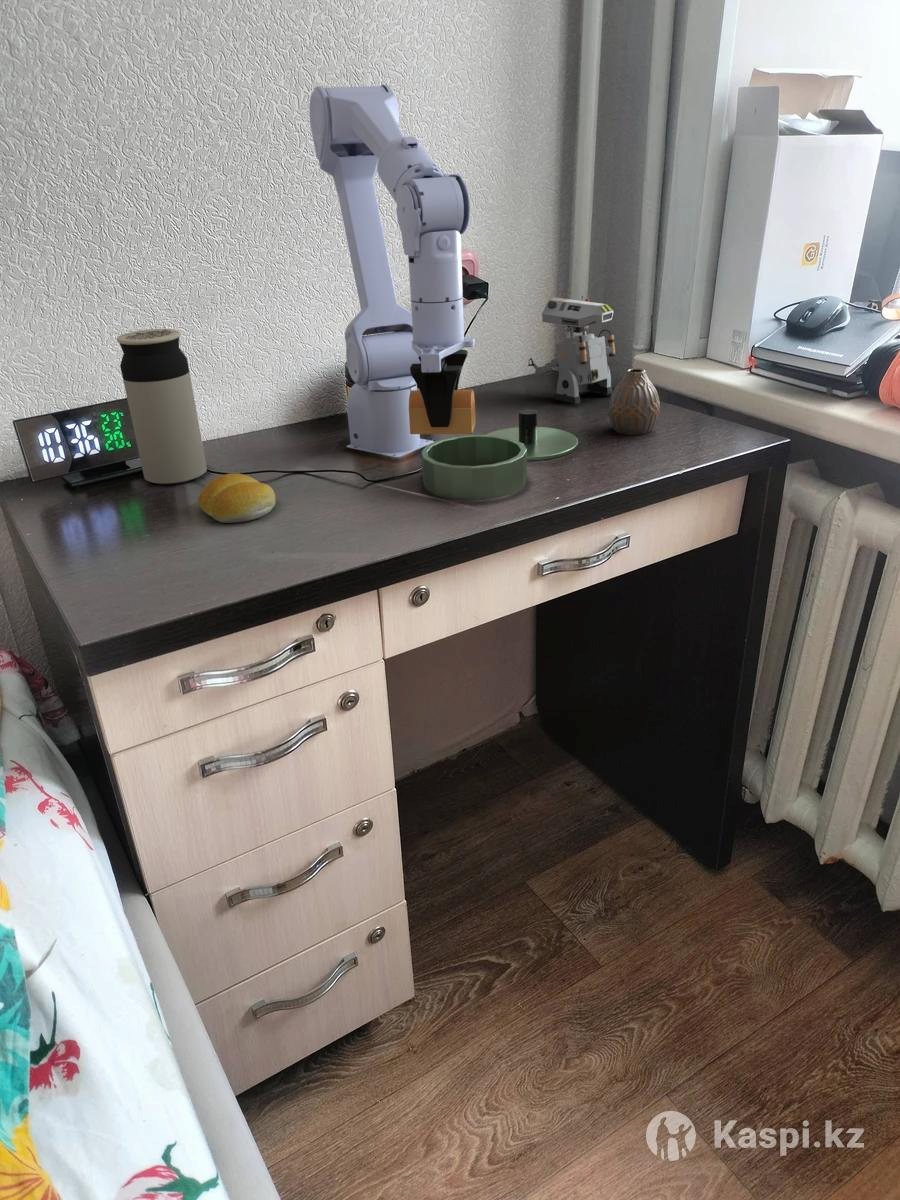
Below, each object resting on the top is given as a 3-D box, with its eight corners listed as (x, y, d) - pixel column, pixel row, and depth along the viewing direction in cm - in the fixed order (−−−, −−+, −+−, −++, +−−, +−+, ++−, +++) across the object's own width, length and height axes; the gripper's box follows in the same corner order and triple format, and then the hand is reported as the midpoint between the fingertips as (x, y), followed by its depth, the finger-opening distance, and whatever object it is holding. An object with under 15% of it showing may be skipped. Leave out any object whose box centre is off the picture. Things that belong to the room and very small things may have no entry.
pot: (403, 491, 105) (400, 456, 103) (464, 462, 114) (462, 429, 112) (487, 511, 98) (486, 474, 96) (545, 478, 107) (545, 444, 105)
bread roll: (227, 531, 96) (221, 497, 95) (191, 510, 103) (185, 478, 101) (291, 510, 101) (287, 477, 99) (253, 491, 107) (248, 460, 105)
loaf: (410, 434, 101) (407, 395, 99) (415, 423, 104) (413, 386, 102) (472, 434, 100) (470, 395, 98) (475, 423, 103) (474, 385, 101)
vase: (665, 429, 122) (669, 366, 118) (647, 443, 117) (651, 378, 113) (619, 424, 126) (622, 362, 122) (599, 437, 121) (601, 373, 117)
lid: (458, 454, 116) (456, 417, 114) (513, 429, 126) (513, 394, 123) (543, 471, 109) (544, 432, 107) (595, 443, 118) (597, 406, 116)
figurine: (565, 385, 146) (567, 292, 139) (619, 397, 139) (624, 298, 132) (527, 396, 141) (527, 300, 134) (581, 409, 133) (584, 307, 126)
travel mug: (219, 473, 114) (194, 332, 106) (165, 490, 109) (135, 343, 101) (186, 461, 119) (160, 325, 111) (133, 477, 114) (101, 336, 106)
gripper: (466, 309, 88) (470, 439, 95) (479, 287, 101) (482, 403, 107) (398, 311, 89) (406, 439, 96) (419, 289, 102) (425, 403, 108)
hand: (442, 420), depth 102 cm, fingers closed on loaf, 4 cm apart
